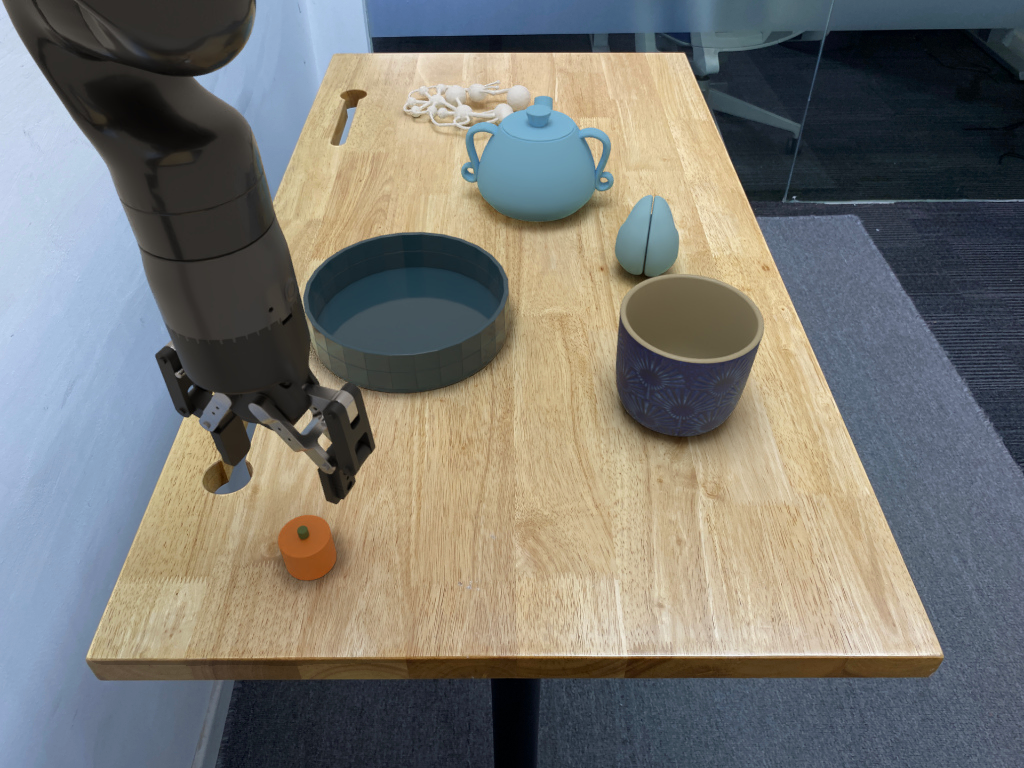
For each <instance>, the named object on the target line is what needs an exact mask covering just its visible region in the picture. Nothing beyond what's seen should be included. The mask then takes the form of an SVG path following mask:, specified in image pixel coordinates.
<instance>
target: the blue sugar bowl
mask: <svg viewBox="0 0 1024 768" xmlns="http://www.w3.org/2000/svg"><path fill="white" fill-rule="evenodd" d="M533 99H534V100H533V104H532V105H528V107H527V108H526V109H524V110H520V111H513V112H514V113H511V114H510V115H508V116H507V117H505V118H504V119H503V120H502V122H501V123H500V124H499V125H498V124H496V123H489V122H486V121H480V122H477V123H475V124H473V125H472V126H470V127H471V128H470V129H469V130H467V132H466V133H465V141H464V143H465V149H466V152H467V155H468V158H469V161H467V162H464V164H463V165H462V166H461V170H460V175H461V177H462V179H463V180H465V181H466V182H468V183H471V184H475V183H477V189H478V191H479V193H480V195H481V197H482V198H483V200H485V201H486V202H487V204H489V205H490V206H491V207H492V208H493V209H494V210H495V211H496V212H498V213H500V214H501V215H503V216H505V217H508V218H510V219H514V220H517V221H522V222H523V221H524V222H531V223H544V222H553V221H558V220H562V219H564V218H567V217H569V216H571V215H574V214H575V213H576V212H577V211H579V210H580V209H582V207H584V206H585V205H586V204H587V203H588V202H589V201H590V199H592V197H593V195H594V193H595V191H598V192H607V191H609V190H610V189H612V187H613V186H614V182H615V179H614V176H613V174H612V173H611V172H610V171H604V170H605V168H606V166H607V163H608V161H609V158H610V156H611V151H612V143H611V139H610V137H609V135H608V134H607V133H606V132H605V131H603V130H601V129H599V128H596V127H585V128H581V129H580V128H579V126H578V125H577V123H576V122H575V121H574V120H573V118H572V117H570V116H569V115H568V114H566V113H564V112H561V111H558V110H554V98H553V97H551V96H548V95H539V96H536V97H534V98H533ZM478 133H488V134H491V136H490V137H489V139H488V141H487V142H486V145H485V146H484V148H483V151H482V153H481V156H480V159H479V155H478V153H477V150H476V149H477V148H476V146H475V141H474V137H475V134H478ZM589 138H591V139H595V140H598V141H600V142H601V144H602V152H601V156H600V159H599V161H598V164H597V166H596V163H595V160H594V156H593V153H592V150H591V148H590V146H589V143H588V141H587V139H589ZM468 169H471V170H473V173H472V172H470V171H469V170H468ZM601 179H606V181H605V182H604V181H601Z"/></svg>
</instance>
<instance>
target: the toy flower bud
mask: <svg viewBox="0 0 1024 768" xmlns="http://www.w3.org/2000/svg"><path fill="white" fill-rule="evenodd" d="M679 249H680V233H679V231H678V229H677V227H676V224H675V220H674V217H673V213H672V210H671V206H670V205H669V203H668V202H667V200H666V199H665V198H664V197H662V196H660V195H655V196H653V195H652V194H647V195H645V196H643V197H641V198H640V199H639V200H638V201H637V202H636V203H635V204H634V205H633V207H632V209H631V210H630V212H629V214H628V215H627V217H626V219H625V221H624V222H623V223H622V224H621V225H620V226H619V229H618V232H617V235H616V239H615V245H614V254H615V258H616V260H617V262H618V263H619V265H620V266H621V267H622V268H623V269H624V270H625V271H626V272H627V273H628V274H631V275H635V276H636V275H637V276H639V275H642V273H644V275H645V276H647V277H649V278H653V277H657V276H661V275H663V274H664V273H665V272H667V271H668V270H669V269H671V268H672V267H673V266H674V264H675V263H676V261H677V259H678V256H679Z"/></svg>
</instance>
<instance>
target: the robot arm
mask: <svg viewBox="0 0 1024 768" xmlns="http://www.w3.org/2000/svg"><path fill="white" fill-rule="evenodd" d="M1 2H2V4H3V6H4V9H5V11H6V13H7V15H8V18H9V19H10V22H11V25H12V26H13V29H15V32H16V33H17V35H18V37H19V38H20V40H21V42H22V44H23V45H24V47H25V48H26V50H27V52H28V54H29V55H30V57H31V58H32V60H33V62H34V63H35V64H36V66H37V68H38V69H39V70H40V72H41V73H42V75H43V77H44V78H45V79H46V81H47V82H48V84H49V86H50V87H51V89H52V90H53V91H54V93H55V94H56V96H57V98H58V99H59V101H60V102H61V104H62V105H63V107H64V108H65V109H66V111H67V112H68V114H69V116H70V118H71V119H72V120H73V121H74V123H75V124H76V126H77V127H78V129H79V130H80V131H81V132H82V133H83V135H84V136H85V137H86V139H87V140H88V141H89V143H90V144H91V145H92V147H93V148H94V150H96V152H97V154H98V155H99V156H100V158H101V159H102V160H103V162H104V163H105V165H106V167H107V169H108V172H109V175H110V177H111V180H112V184H113V187H114V188H115V192H116V193H117V196H118V199H119V201H120V205H121V206H122V209H123V211H124V213H125V216H126V219H127V221H128V223H129V225H130V228H131V231H132V233H133V235H134V238H135V241H136V243H137V246H138V249H139V254H140V257H141V262H142V267H143V272H144V275H145V278H146V281H147V283H148V286H149V289H150V292H151V293H152V296H153V299H154V301H155V304H156V306H157V309H158V311H159V313H160V315H161V318H162V320H163V323H164V325H165V328H166V330H167V333H168V335H169V337H170V341H169V342H168V343H166V344H165V345H164V346H163V347H162V348H160V349H159V350H158V351H157V352H156V353H155V354H154V357H155V360H156V363H157V365H158V368H159V371H160V373H161V375H162V378H163V380H164V383H165V386H166V388H167V391H168V393H169V396H170V400H171V403H172V404H173V406H174V410H175V411H176V412H177V414H179V415H180V416H181V417H183V418H186V419H188V418H190V417H191V416H192V415H193V416H194V417H196V418H198V424H199V425H200V427H202V429H203V430H206V431H207V432H209V433H210V436H211V438H212V440H213V443H214V445H215V448H216V450H217V452H218V453H219V454H220V456H221V459H222V461H223V463H224V464H226V465H228V466H230V467H237V466H238V465H239V464H240V462H241V461H242V460H243V459H244V458H245V457H246V456H247V454H249V452H250V450H251V449H252V444H251V440H250V437H249V435H248V432H247V429H246V427H245V424H244V422H247V423H249V424H256V425H259V426H262V427H264V428H266V429H268V430H269V431H272V432H275V434H276V435H277V436H278V437H279V438H280V439H281V440H282V441H283V442H284V443H285V444H286V445H287V446H288V447H289V449H291V450H292V451H293V452H294V453H300V452H302V453H304V454H305V455H306V456H307V457H308V458H309V459H310V460H311V461H312V462H313V464H315V465H316V466H317V473H318V477H319V480H320V485H321V488H322V491H323V494H324V499H325V501H326V502H328V503H331V504H332V505H333V504H334V505H338V504H339V503H340V502H341V501H342V500H345V499H346V497H347V496H348V494H349V493H350V492H351V490H352V489H353V488H354V486H355V484H356V475H357V474H358V473H359V471H360V470H361V467H362V466H363V465H364V463H365V462H366V461H367V459H368V458H369V456H370V455H371V454H373V452H374V451H375V450H376V442H375V439H374V434H373V431H372V428H371V424H370V420H369V416H368V412H367V408H366V405H365V402H364V401H365V400H364V397H363V394H362V390H361V389H360V387H359V386H356V385H355V384H353V383H349V382H345V383H344V384H343V386H342V387H340V389H339V390H337V389H333V388H330V387H326V386H324V385H321V383H320V382H319V379H318V378H317V377H316V375H315V374H314V373H313V371H312V369H311V368H310V353H311V345H312V341H311V336H310V332H309V328H308V324H307V319H306V315H305V310H304V303H303V299H302V296H301V292H300V288H299V284H298V280H297V276H296V272H295V267H294V263H293V260H292V256H291V251H290V247H289V244H288V241H287V239H286V237H285V234H284V232H283V229H282V227H281V225H280V222H279V220H278V217H277V214H276V210H275V207H274V203H273V199H272V194H271V191H270V187H269V183H268V179H267V175H266V171H265V167H264V164H263V163H264V162H263V160H262V159H263V158H262V156H261V151H260V148H259V145H258V142H257V139H256V137H255V134H254V131H253V129H252V127H251V125H250V123H249V121H248V120H247V118H246V117H245V116H244V115H243V114H242V113H241V112H240V111H239V110H238V109H236V108H235V107H233V106H232V105H231V104H230V103H227V102H226V101H225V100H223V99H221V97H218V96H217V95H216V94H214V93H212V92H211V91H209V90H208V89H207V88H205V87H204V86H203V85H202V84H200V82H199V81H198V80H197V79H196V78H195V77H201V76H205V75H208V74H209V75H210V74H212V73H214V72H218V71H219V70H222V69H223V68H225V67H227V66H228V65H229V64H230V63H231V62H233V61H234V60H235V59H236V58H237V57H238V56H239V55H240V53H241V52H242V51H243V50H244V49H245V48H246V45H247V43H248V42H249V40H250V37H251V35H252V33H253V29H254V25H255V21H256V15H257V0H1ZM191 387H192V388H191ZM190 388H191V389H190ZM213 393H214V394H213ZM308 411H309V412H311V415H312V417H311V420H310V422H309V423H308V424H307V425H306V426H305V428H304V429H302V431H301V432H300V431H298V429H297V428H295V426H296V425H297V423H298V422H299V421H300V420H301V418H303V416H304V415H305V414H306V413H307V412H308ZM322 435H324V436H325V437H326V439H328V440H329V442H331V444H329V446H328V447H327V449H326V450H325V449H324V448H323V447H322V446H321V445H320V443H319V438H320V437H321V436H322Z"/></svg>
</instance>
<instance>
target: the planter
mask: <svg viewBox="0 0 1024 768" xmlns="http://www.w3.org/2000/svg"><path fill="white" fill-rule="evenodd" d="M764 332H765V320H764V316H763V314H762V312H761V310H760V308H759V307H758V305H757V304H756V303H755V301H754V300H752V299H751V298H750V297H749V296H748V295H747V294H745V293H744V292H743V291H741V290H740V289H738V288H737V287H735V286H733V285H731V284H729V283H728V282H724V281H722V280H720V279H717V278H712V277H709V276H705V275H699V274H694V273H693V274H692V273H670V274H661V275H659V276H655V277H649V278H646V279H645V280H643V281H641V282H639V283H637V284H636V285H634V286H633V287H632V288H631V289H629V290H628V291H627V292H626V294H625V295H624V296H623V298H622V300H621V302H620V307H619V317H618V329H617V341H616V342H617V343H616V354H615V355H616V356H615V383H616V390H617V395H618V397H619V400H620V402H621V404H622V407H623V408H624V410H625V411H626V413H628V414H629V415H630V416H631V418H632V419H633V420H635V421H636V422H637V423H639V425H642V426H643V427H645V428H646V429H649V430H651V431H654V432H656V433H659V434H662V435H667V436H673V437H694V436H698V435H703V434H705V433H709V432H711V431H713V430H715V429H717V428H718V427H720V426H721V425H722V424H724V423H725V422H726V421H727V419H729V417H730V416H731V415H732V413H733V412H734V411H735V409H736V407H737V405H738V403H739V401H740V399H741V397H742V394H743V392H744V390H745V387H746V385H747V383H748V380H749V377H750V375H751V374H750V373H751V370H752V368H753V365H754V363H755V359H756V357H757V353H758V350H759V347H760V345H761V342H762V339H763V336H764Z"/></svg>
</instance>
